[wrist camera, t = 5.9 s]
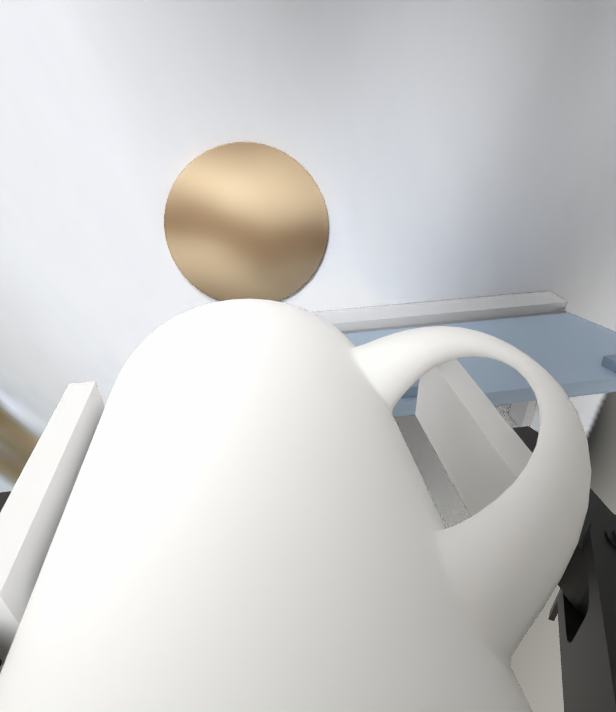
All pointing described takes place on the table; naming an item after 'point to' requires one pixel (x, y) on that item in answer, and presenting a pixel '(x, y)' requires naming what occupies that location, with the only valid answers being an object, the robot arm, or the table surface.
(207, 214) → the coaster
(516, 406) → the bracket
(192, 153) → the table surface
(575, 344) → the cover
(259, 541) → the mug
